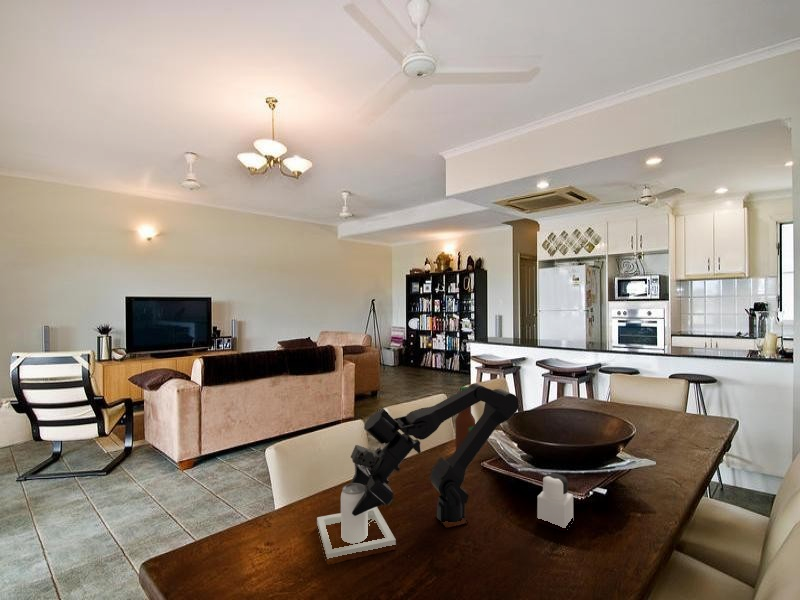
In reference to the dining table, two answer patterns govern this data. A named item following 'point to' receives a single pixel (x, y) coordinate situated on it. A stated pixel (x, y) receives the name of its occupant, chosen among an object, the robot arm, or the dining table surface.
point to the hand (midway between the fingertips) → (349, 505)
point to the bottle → (463, 424)
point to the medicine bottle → (555, 501)
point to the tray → (359, 547)
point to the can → (353, 526)
